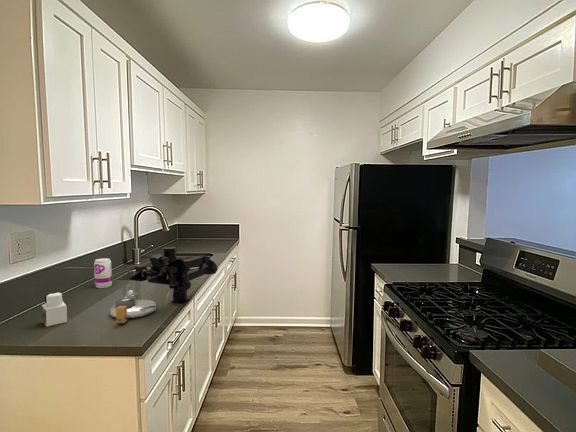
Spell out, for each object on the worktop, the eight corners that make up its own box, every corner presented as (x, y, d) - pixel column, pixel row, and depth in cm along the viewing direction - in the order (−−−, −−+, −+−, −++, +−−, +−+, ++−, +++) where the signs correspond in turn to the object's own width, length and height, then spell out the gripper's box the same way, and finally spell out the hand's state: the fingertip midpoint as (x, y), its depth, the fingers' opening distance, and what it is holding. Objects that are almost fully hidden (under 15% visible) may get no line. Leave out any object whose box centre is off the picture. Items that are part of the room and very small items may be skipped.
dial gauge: (132, 301, 166) (132, 287, 166) (139, 302, 165) (138, 288, 164) (126, 303, 163) (126, 289, 162) (133, 304, 161) (132, 290, 161)
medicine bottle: (42, 322, 140) (40, 292, 139) (63, 317, 145) (61, 289, 144) (46, 327, 135) (44, 296, 134) (67, 322, 140) (66, 292, 139)
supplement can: (104, 289, 186) (103, 261, 185) (91, 288, 188) (90, 260, 187) (115, 285, 194) (114, 258, 193) (102, 284, 196) (101, 257, 195)
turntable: (120, 304, 160) (120, 291, 159) (160, 303, 161) (160, 290, 160) (96, 323, 137) (96, 308, 136) (143, 322, 138) (143, 307, 138)
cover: (125, 301, 158) (125, 293, 158) (139, 303, 155) (139, 295, 155) (111, 306, 150) (110, 298, 150) (125, 309, 148) (125, 300, 147)
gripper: (148, 251, 159) (121, 258, 145) (182, 255, 152) (157, 262, 138) (149, 275, 160) (122, 284, 145) (182, 280, 153) (157, 289, 139)
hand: (139, 279), depth 142 cm, fingers open, 9 cm apart
